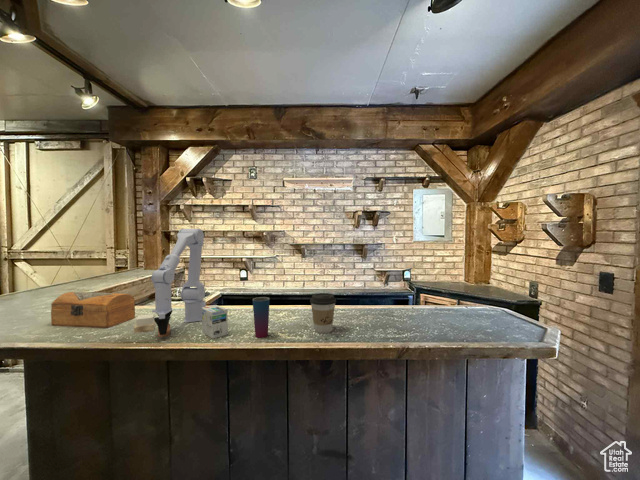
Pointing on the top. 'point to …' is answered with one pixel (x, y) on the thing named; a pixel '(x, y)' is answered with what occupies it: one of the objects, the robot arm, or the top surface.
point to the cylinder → (166, 333)
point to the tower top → (145, 320)
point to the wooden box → (92, 309)
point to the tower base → (144, 328)
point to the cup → (261, 316)
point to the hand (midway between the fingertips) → (164, 331)
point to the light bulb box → (214, 321)
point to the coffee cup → (323, 311)
